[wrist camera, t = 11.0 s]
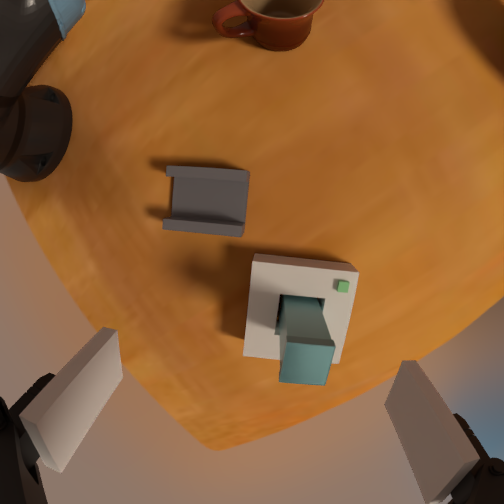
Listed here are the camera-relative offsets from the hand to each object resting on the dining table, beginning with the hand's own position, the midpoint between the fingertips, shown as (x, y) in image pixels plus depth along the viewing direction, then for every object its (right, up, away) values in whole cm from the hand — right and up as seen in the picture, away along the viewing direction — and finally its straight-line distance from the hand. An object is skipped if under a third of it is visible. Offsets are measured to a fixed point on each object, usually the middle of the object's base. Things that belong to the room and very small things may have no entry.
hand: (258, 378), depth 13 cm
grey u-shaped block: (-5, +12, +24) cm, 27 cm away
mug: (+2, +33, +19) cm, 38 cm away
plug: (+5, -1, +26) cm, 26 cm away
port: (+5, -1, +26) cm, 26 cm away
